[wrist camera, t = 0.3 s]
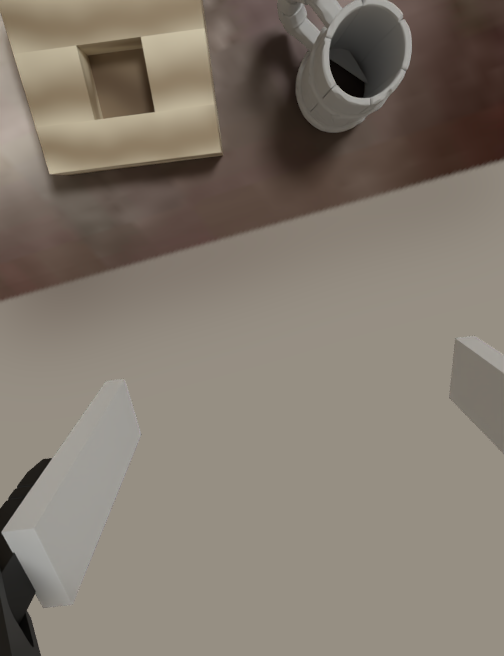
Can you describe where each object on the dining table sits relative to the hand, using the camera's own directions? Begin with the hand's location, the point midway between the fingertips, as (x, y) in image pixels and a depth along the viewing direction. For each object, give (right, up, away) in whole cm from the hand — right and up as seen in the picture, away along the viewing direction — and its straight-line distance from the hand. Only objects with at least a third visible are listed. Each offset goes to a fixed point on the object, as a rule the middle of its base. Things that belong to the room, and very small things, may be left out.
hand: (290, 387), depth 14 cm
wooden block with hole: (-13, +25, +19) cm, 34 cm away
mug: (+5, +27, +19) cm, 33 cm away
